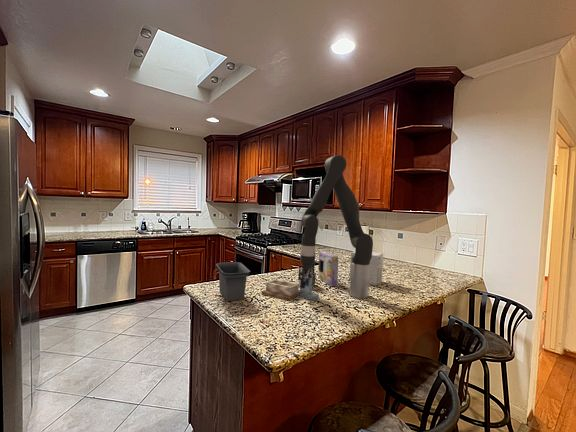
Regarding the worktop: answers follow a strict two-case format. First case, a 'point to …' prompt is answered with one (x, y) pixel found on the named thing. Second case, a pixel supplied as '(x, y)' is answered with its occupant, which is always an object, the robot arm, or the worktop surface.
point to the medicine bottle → (312, 279)
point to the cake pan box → (328, 268)
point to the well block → (281, 289)
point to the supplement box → (373, 267)
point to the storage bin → (232, 280)
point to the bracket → (308, 290)
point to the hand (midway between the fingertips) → (306, 286)
